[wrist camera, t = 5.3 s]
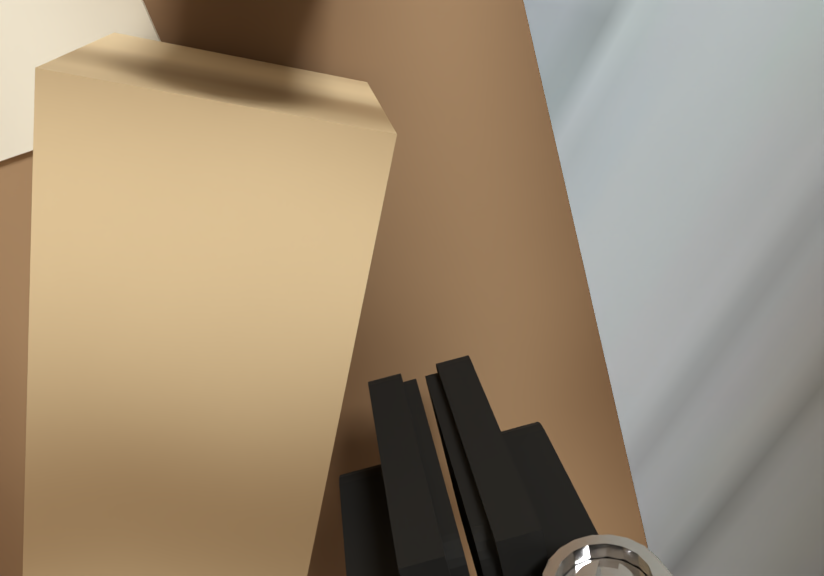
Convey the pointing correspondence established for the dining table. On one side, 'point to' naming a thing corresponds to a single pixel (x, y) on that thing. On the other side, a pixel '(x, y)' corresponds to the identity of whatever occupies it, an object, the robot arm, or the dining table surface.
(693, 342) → the dining table surface
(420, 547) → the robot arm
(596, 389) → the board
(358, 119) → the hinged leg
